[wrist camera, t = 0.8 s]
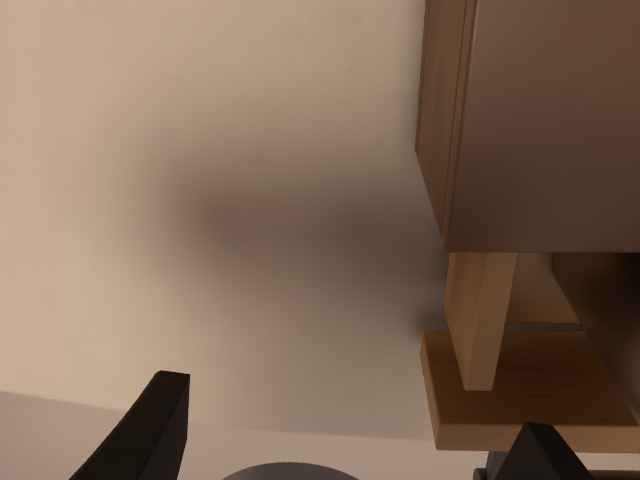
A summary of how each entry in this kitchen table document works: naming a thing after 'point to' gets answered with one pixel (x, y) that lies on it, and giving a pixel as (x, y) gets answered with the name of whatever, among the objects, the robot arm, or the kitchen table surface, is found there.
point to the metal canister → (607, 311)
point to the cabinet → (532, 124)
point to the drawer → (518, 366)
